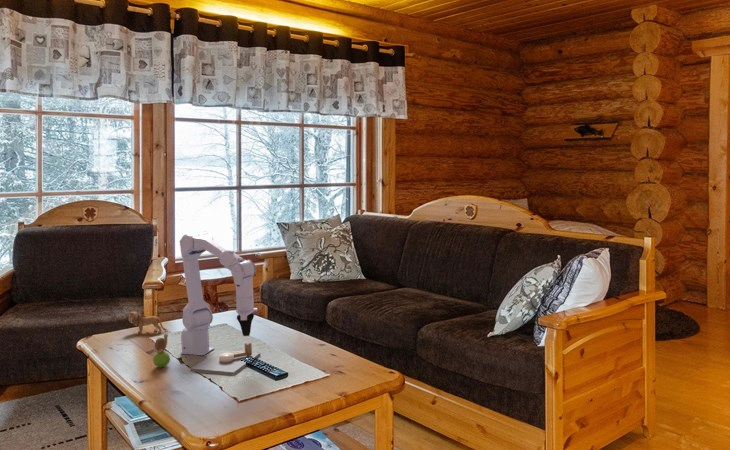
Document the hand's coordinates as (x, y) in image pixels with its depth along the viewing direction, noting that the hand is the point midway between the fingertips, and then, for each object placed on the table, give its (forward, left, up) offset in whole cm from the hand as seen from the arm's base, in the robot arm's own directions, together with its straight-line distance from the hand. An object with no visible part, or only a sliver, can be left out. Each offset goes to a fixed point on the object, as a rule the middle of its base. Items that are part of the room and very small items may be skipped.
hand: (246, 335), depth 211 cm
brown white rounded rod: (-6, +2, -9) cm, 11 cm away
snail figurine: (-28, -8, -11) cm, 31 cm away
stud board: (-8, 0, -10) cm, 13 cm away
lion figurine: (-59, +26, -11) cm, 65 cm away
